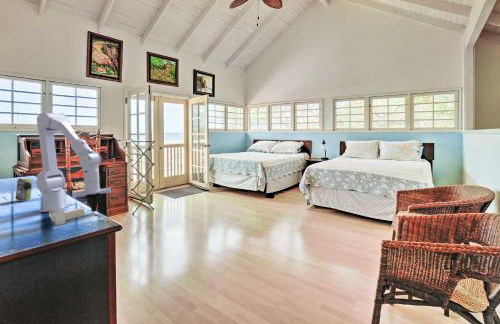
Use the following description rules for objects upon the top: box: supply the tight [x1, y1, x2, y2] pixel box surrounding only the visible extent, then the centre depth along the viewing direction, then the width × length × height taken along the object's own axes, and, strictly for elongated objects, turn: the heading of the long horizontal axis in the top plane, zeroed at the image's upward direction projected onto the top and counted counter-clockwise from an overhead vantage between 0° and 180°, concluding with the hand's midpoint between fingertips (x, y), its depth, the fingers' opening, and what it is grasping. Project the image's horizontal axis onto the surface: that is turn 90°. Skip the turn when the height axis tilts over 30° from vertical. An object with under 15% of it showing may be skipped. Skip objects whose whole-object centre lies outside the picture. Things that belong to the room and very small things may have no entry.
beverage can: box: [15, 177, 33, 202], centre depth 140 cm, size 6×7×12 cm
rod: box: [51, 207, 85, 223], centre depth 112 cm, size 11×3×3 cm, turn 146°
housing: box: [48, 205, 66, 226], centre depth 109 cm, size 14×3×5 cm, turn 45°
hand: (93, 211), depth 118 cm, fingers closed
